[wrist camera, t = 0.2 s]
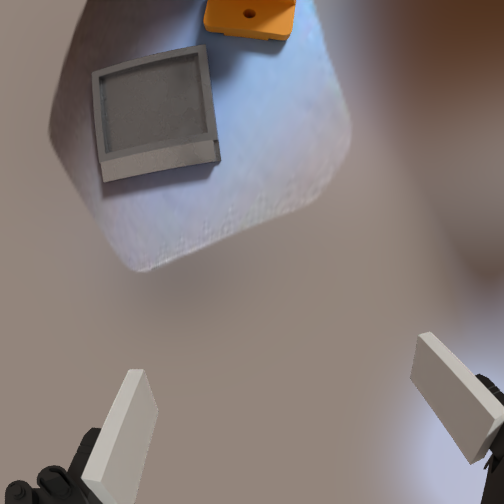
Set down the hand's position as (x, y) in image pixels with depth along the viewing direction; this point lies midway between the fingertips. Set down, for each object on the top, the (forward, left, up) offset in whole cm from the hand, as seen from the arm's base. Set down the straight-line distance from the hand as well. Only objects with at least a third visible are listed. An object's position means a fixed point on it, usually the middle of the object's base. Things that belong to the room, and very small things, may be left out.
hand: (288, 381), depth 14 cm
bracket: (-30, +3, -28) cm, 41 cm away
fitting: (-19, -10, -28) cm, 35 cm away
